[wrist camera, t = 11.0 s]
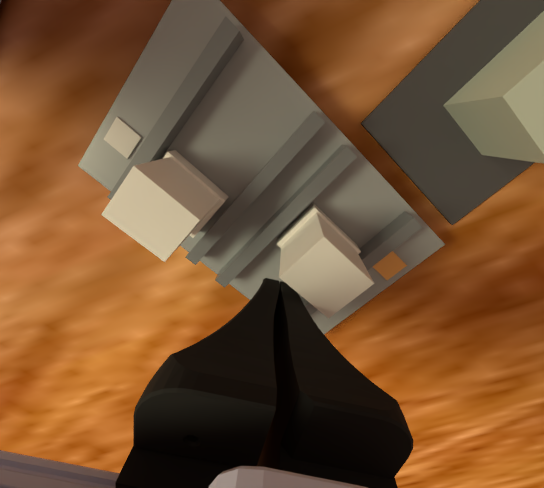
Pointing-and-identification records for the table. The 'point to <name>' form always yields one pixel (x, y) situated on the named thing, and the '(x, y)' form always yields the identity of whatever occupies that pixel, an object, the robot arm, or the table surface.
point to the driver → (507, 100)
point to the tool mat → (437, 120)
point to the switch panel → (251, 154)
